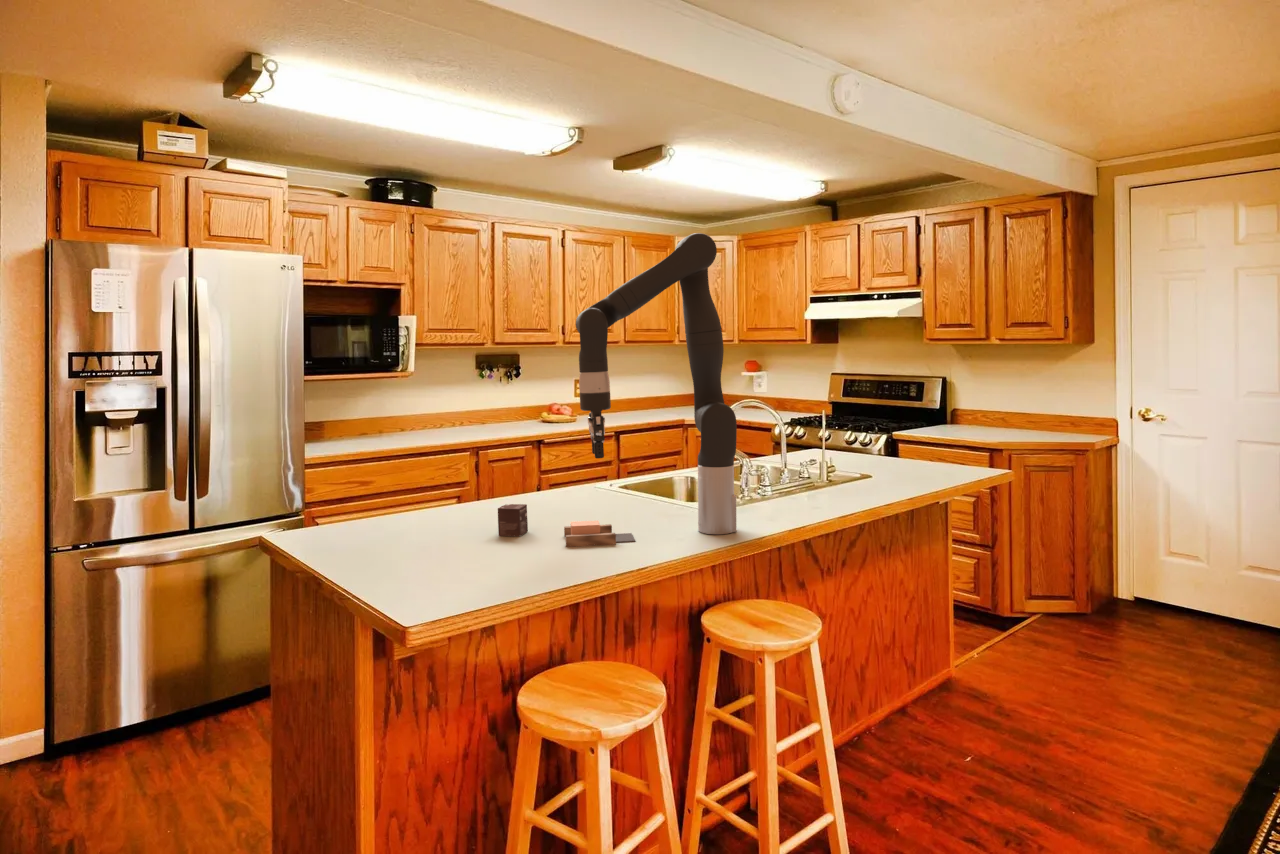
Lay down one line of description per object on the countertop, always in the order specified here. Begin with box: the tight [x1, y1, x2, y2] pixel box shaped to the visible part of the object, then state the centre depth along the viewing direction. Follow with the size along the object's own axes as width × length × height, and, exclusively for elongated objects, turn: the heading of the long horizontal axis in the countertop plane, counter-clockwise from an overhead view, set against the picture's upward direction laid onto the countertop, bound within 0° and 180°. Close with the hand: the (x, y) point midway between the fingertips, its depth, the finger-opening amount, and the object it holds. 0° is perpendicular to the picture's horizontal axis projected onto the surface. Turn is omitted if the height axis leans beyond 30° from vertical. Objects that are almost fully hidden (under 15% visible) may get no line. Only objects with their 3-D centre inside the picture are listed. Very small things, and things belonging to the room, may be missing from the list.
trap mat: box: [615, 532, 636, 544], centre depth 189 cm, size 5×8×1 cm, turn 8°
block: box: [570, 520, 601, 535], centre depth 188 cm, size 7×5×4 cm
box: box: [497, 503, 529, 537], centre depth 196 cm, size 6×6×7 cm
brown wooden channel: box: [563, 523, 617, 548], centre depth 188 cm, size 12×11×2 cm
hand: (598, 455), depth 187 cm, fingers open, 8 cm apart
